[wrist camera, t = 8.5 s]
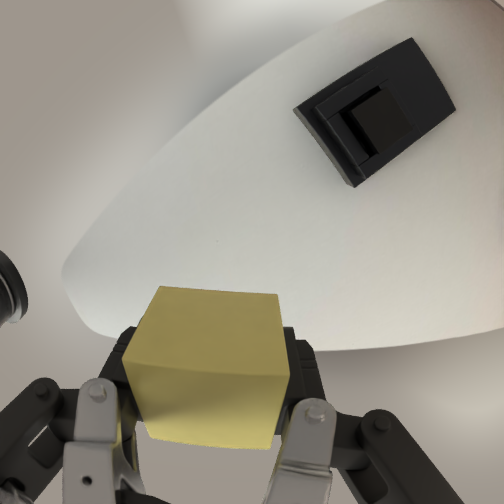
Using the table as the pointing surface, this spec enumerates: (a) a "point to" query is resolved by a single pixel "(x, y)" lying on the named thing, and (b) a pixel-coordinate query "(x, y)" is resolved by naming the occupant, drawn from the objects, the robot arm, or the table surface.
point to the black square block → (378, 121)
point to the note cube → (209, 367)
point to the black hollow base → (361, 85)
